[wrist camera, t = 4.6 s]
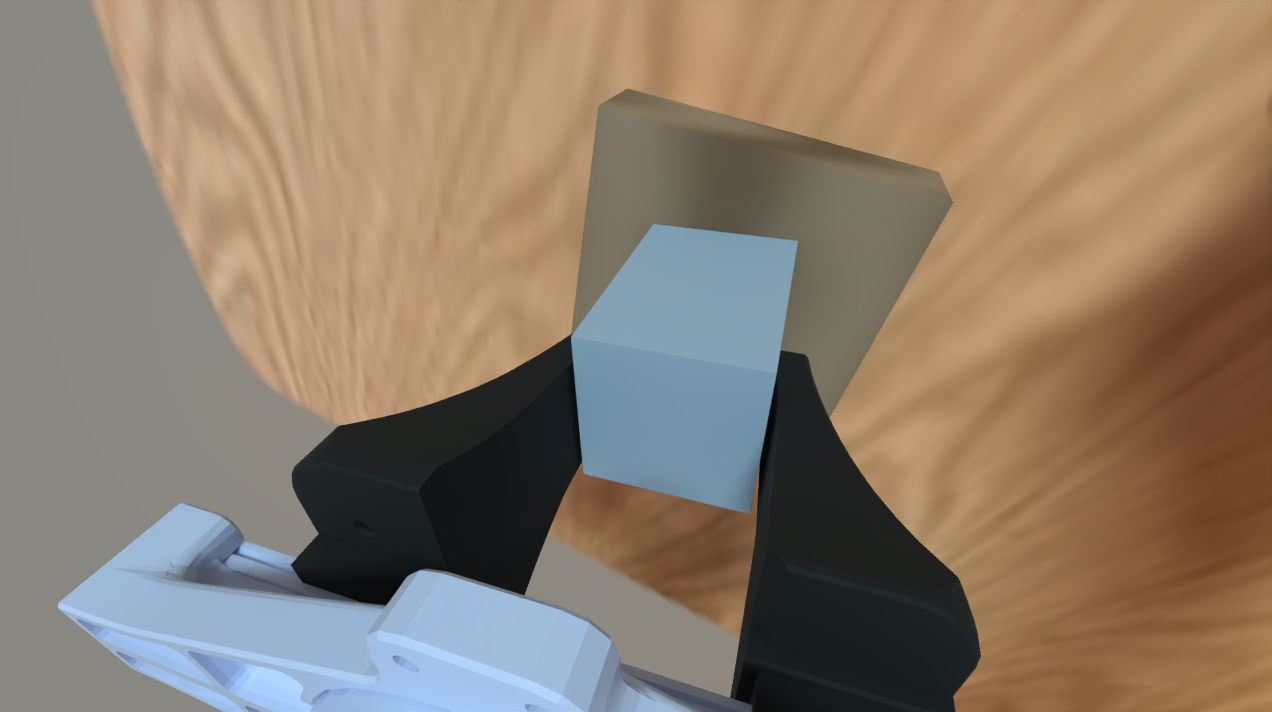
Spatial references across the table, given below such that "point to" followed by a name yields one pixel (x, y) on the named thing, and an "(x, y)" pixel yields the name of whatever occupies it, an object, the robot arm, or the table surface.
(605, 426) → the slate-blue block
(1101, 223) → the table surface
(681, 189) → the taupe plinth
